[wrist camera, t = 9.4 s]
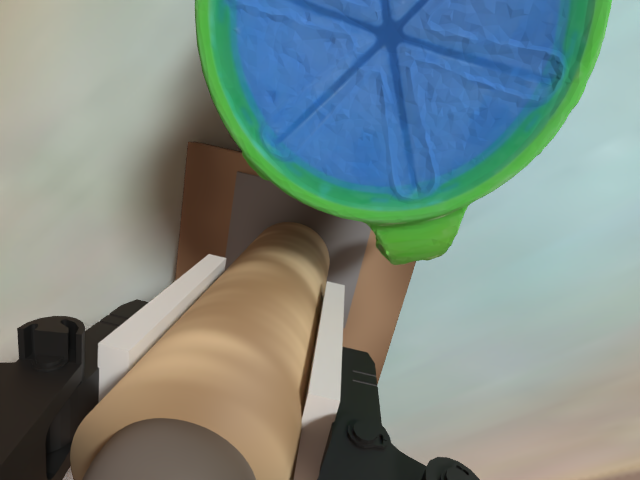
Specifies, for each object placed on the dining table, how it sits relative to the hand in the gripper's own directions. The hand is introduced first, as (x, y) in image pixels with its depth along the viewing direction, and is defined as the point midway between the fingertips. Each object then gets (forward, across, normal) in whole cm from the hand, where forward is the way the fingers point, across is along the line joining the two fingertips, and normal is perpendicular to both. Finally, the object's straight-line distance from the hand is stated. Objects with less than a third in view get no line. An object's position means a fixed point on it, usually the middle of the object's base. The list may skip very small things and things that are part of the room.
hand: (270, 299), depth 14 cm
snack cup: (+7, +2, +10) cm, 13 cm away
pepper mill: (+5, 0, 0) cm, 5 cm away
